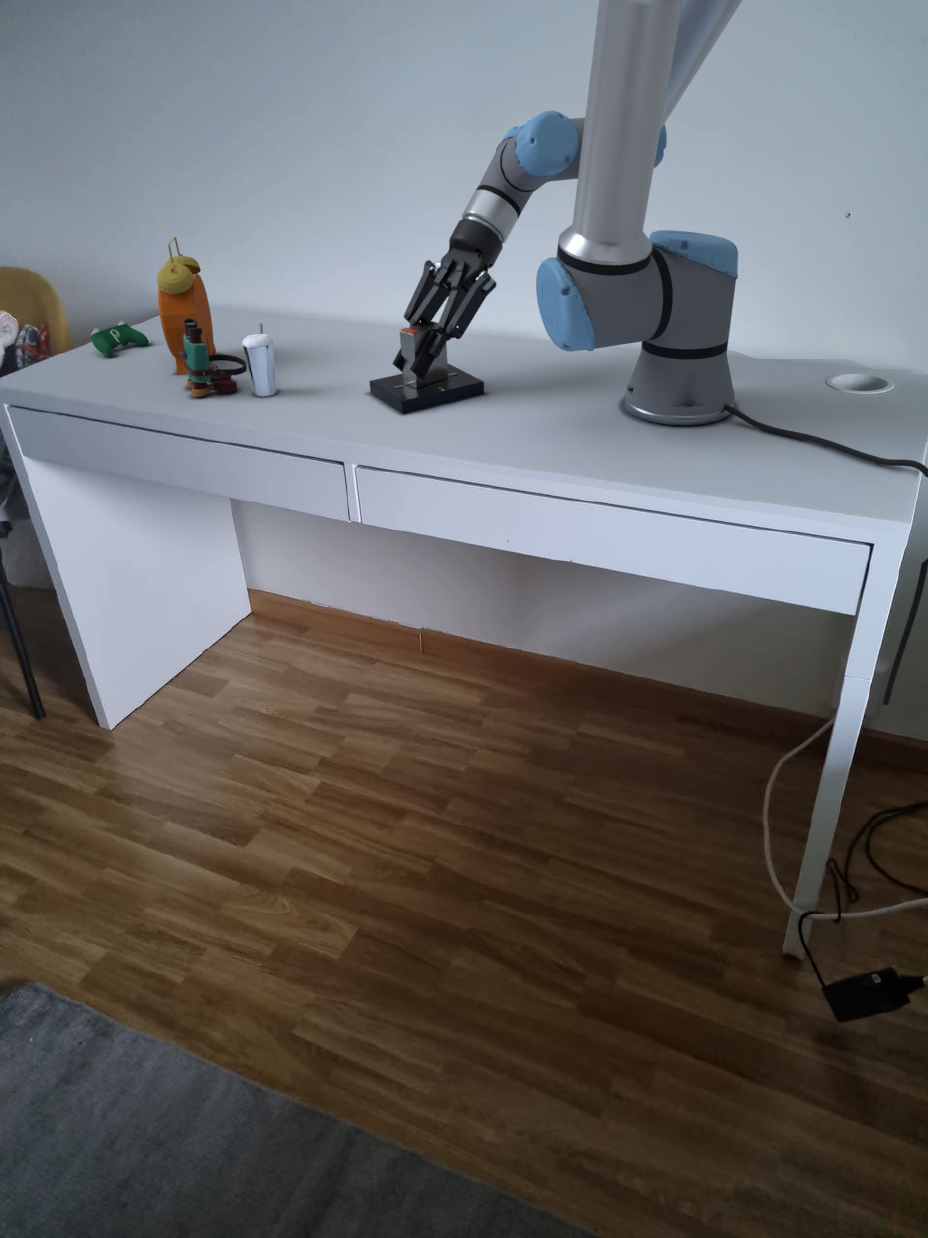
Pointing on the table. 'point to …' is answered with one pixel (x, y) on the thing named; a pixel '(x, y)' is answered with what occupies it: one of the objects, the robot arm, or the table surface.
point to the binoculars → (206, 363)
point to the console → (426, 391)
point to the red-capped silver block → (409, 351)
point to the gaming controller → (116, 338)
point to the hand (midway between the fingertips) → (408, 371)
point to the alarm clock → (183, 304)
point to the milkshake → (261, 362)
